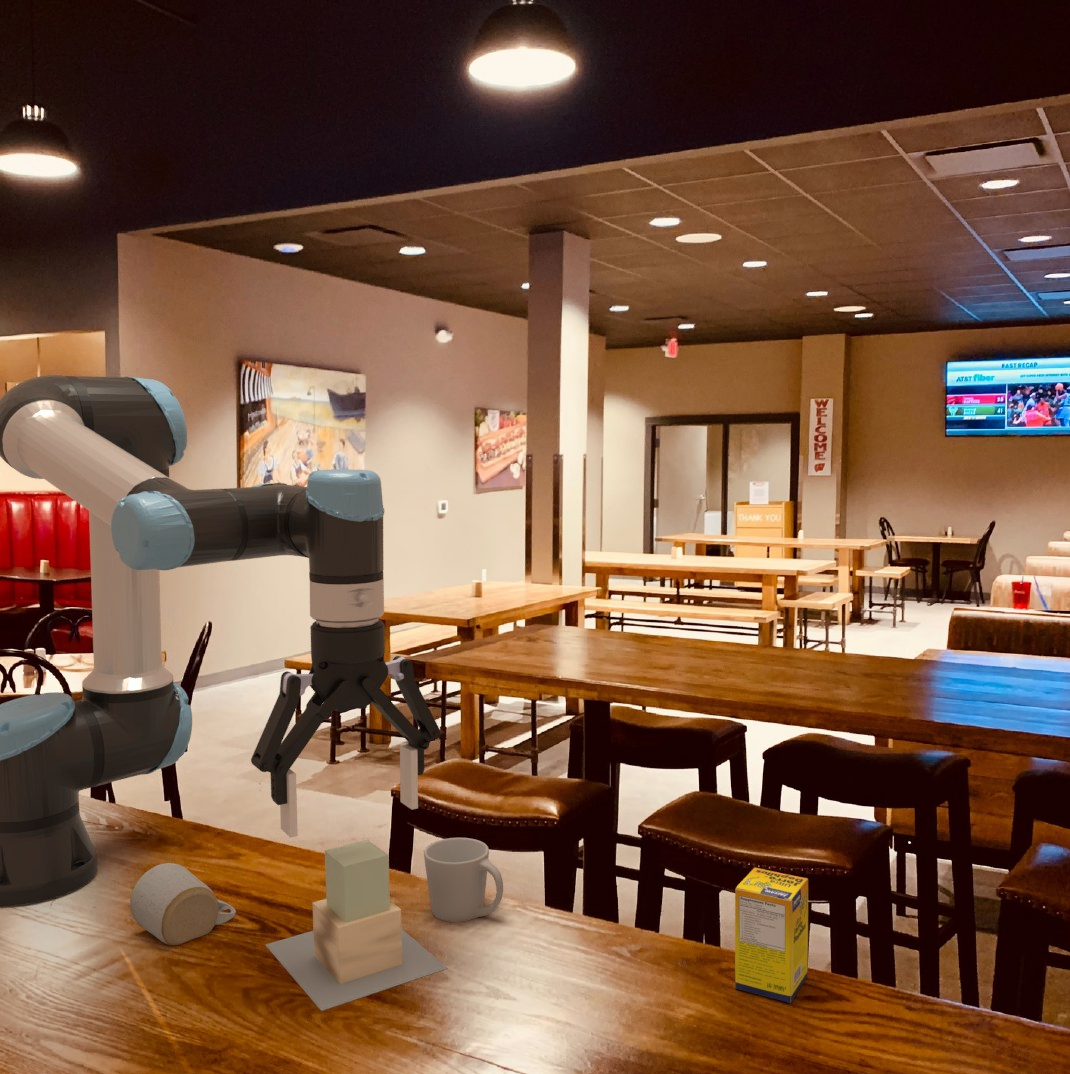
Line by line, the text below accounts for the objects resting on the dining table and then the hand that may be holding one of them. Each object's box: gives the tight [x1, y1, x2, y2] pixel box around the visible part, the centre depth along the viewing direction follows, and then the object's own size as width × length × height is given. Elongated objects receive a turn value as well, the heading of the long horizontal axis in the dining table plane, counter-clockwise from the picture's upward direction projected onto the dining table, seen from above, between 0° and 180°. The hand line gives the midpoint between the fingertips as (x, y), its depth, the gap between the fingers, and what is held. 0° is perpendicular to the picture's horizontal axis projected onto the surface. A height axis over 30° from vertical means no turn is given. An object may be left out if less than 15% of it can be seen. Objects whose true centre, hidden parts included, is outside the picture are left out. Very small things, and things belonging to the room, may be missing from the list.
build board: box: [265, 927, 449, 1012], centre depth 112 cm, size 16×14×1 cm
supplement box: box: [734, 867, 809, 1004], centre depth 107 cm, size 6×6×11 cm
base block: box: [312, 898, 403, 984], centre depth 111 cm, size 7×7×6 cm
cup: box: [423, 837, 504, 923], centre depth 122 cm, size 8×10×8 cm
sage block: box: [324, 839, 391, 923], centre depth 110 cm, size 5×5×6 cm
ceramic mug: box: [129, 862, 237, 946], centre depth 120 cm, size 11×8×8 cm
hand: (351, 818), depth 110 cm, fingers open, 13 cm apart
